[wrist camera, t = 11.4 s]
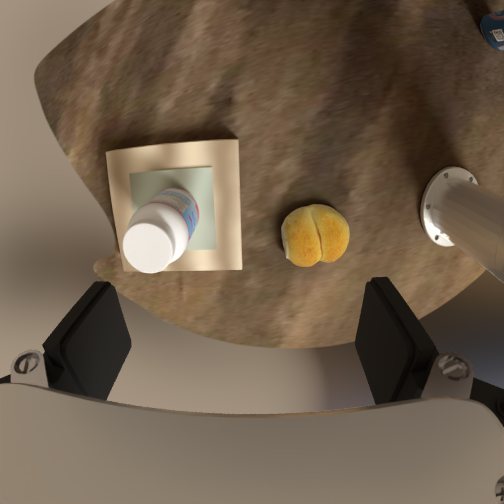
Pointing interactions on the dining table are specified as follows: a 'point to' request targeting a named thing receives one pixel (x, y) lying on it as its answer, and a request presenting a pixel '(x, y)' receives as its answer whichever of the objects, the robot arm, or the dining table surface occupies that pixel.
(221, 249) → the birch plinth
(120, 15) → the dining table surface
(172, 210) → the pill bottle
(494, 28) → the soda can
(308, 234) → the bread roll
